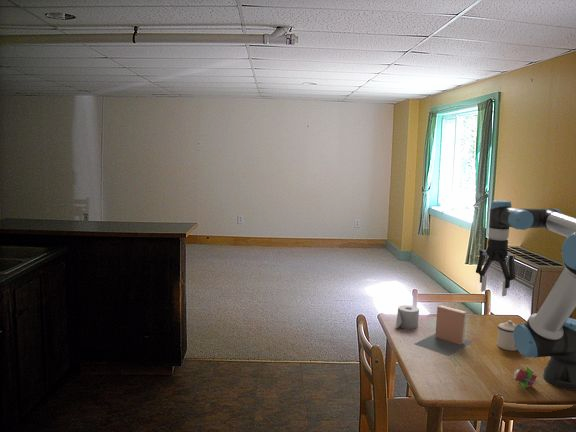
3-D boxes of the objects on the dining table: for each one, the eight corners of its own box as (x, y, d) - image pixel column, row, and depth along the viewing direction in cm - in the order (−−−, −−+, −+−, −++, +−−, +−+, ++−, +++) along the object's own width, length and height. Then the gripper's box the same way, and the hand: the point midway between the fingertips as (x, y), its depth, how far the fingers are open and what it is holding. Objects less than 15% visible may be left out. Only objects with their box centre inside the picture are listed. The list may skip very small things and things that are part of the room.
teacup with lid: (519, 352, 207) (521, 326, 205) (495, 348, 211) (497, 322, 209) (519, 343, 218) (521, 317, 216) (497, 339, 222) (499, 314, 220)
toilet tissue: (393, 329, 230) (394, 311, 229) (400, 321, 242) (401, 304, 241) (412, 333, 226) (413, 315, 225) (419, 324, 238) (420, 307, 236)
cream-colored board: (438, 335, 223) (440, 305, 222) (464, 343, 215) (466, 311, 213) (435, 336, 221) (437, 306, 219) (460, 344, 213) (463, 313, 211)
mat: (439, 332, 228) (439, 331, 228) (473, 342, 217) (473, 341, 217) (413, 344, 213) (413, 343, 213) (448, 356, 201) (448, 355, 201)
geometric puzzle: (535, 376, 181) (523, 359, 180) (545, 385, 174) (533, 367, 173) (518, 387, 181) (507, 370, 180) (528, 396, 174) (516, 379, 173)
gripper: (528, 241, 196) (523, 297, 199) (477, 233, 211) (473, 286, 214) (521, 243, 191) (515, 300, 194) (469, 235, 206) (465, 289, 209)
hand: (493, 293), depth 204 cm, fingers open, 8 cm apart
